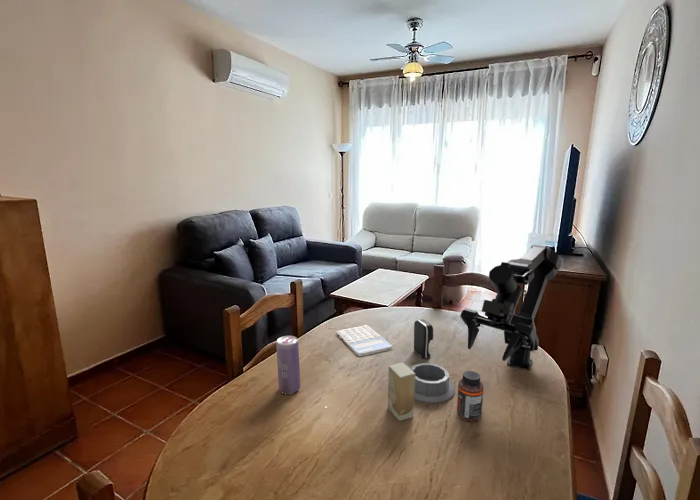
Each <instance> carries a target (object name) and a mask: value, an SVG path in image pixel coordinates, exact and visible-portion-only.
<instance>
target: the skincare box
mask: <svg viewBox="0 0 700 500" xmlns="http://www.w3.org/2000/svg"><path fill="white" fill-rule="evenodd" d="M387 379H388V384H387V408H388V410H389V411H390V412H391V413H392V414H393V416H394V417H395V419H397V420H398V421H399V422H401V421H404V420H407V419H410V418H413V417H414V414H415V413H414V408H415V399H414V393H415V373H414V372H413V371H412V370H411V367H409V366H408V365H406V364H405V363H404V362H403V361H402V362H397V363H393V364H389V365H388V377H387Z"/></svg>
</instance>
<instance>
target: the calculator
mask: <svg viewBox="0 0 700 500" xmlns="http://www.w3.org/2000/svg"><path fill="white" fill-rule="evenodd" d="M336 332H337V333H338V335H339V336H340V337H341V338H342V339H343V340H344V341H345V342H346V343H347V345H348V346H349V347H350V348H351V349H352V350H353V351H354V352H353V351H352V350H351V349H350V348H349V347H348V346H347V345H346V346H347V347H348V348H349V349H350V350H351V351H352V352H353V353H354V354H355V355H356V356H357V355H358V356H357V357H365V356H369V355H372V354H373V355H374V354H377V353H381V352H385V351H389V350H393V344H391V343H390V342H389V341H388V340H387V339H385V338H384V337H383V336H382V335H380V333H378V332H377V331H376V330H374V329H373V328H371V327H370V326H369V325H368V324H365V325H359V326H355V327H349V328H345V329H340V330H337V331H336ZM338 335H337V336H338Z"/></svg>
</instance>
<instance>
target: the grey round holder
mask: <svg viewBox="0 0 700 500" xmlns="http://www.w3.org/2000/svg"><path fill="white" fill-rule="evenodd" d="M410 369H411V370H412V371H413V372H414V373H415V393H414V401H415V400H416V401H418V402H422V403H427V404H440V403H445V402H447V401H449V400H451V399H452V398H453V397H454V395H455V388H456V387H455V385H454V383H453V382H452V381H451V380H450V373H449V370H447V369H446V368H445V367H443V366H442V365H439V364H436V363H432V362H431V363H430V362H429V363H428V362H427V363H426V362H425V363H424V362H422V363H417V364H415V365H412V367H410Z"/></svg>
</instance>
